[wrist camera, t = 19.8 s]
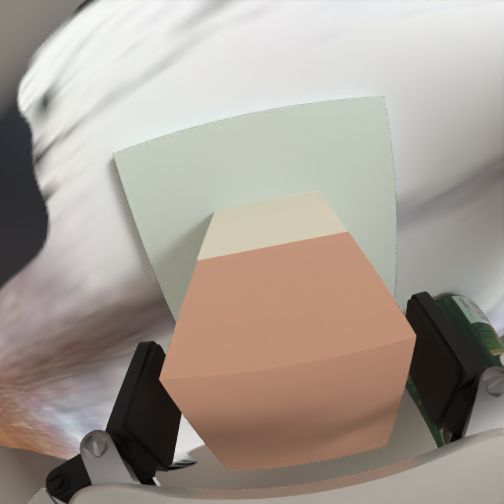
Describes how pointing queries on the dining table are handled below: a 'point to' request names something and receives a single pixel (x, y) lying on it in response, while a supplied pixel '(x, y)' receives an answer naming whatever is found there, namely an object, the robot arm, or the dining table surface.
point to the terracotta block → (289, 354)
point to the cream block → (269, 224)
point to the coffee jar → (479, 340)
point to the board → (263, 180)
